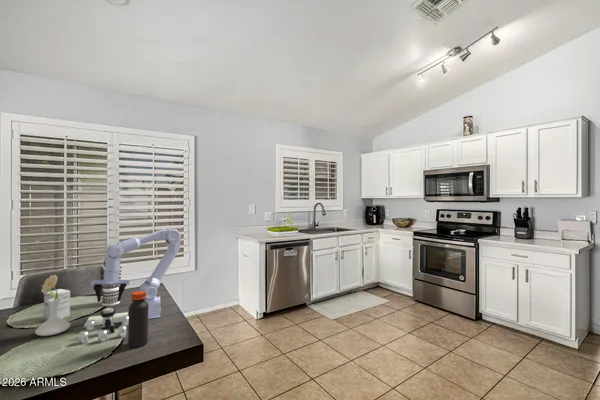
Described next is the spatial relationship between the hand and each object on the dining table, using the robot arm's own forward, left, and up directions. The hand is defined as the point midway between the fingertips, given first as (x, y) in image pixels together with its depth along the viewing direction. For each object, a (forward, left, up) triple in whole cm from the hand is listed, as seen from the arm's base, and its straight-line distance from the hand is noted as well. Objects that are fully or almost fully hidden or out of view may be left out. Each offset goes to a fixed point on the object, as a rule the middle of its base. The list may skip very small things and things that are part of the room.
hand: (109, 301), depth 133 cm
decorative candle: (+4, -33, -11) cm, 35 cm away
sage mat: (+2, -7, -11) cm, 13 cm away
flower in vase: (+20, +1, -11) cm, 22 cm away
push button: (0, +10, -11) cm, 15 cm away
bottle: (-13, +26, -11) cm, 31 cm away
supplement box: (+24, -19, -11) cm, 32 cm away
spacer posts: (0, +10, -11) cm, 15 cm away
